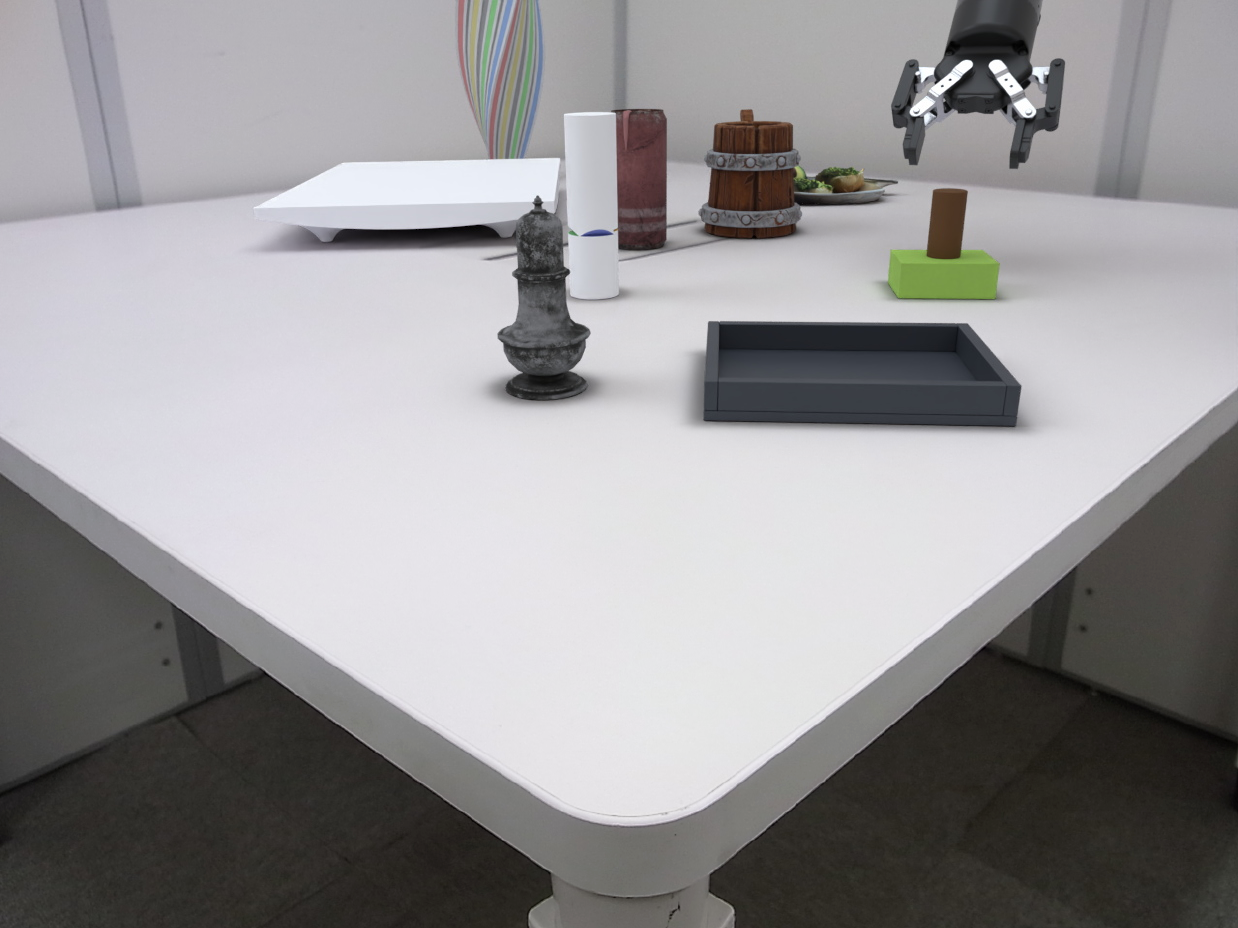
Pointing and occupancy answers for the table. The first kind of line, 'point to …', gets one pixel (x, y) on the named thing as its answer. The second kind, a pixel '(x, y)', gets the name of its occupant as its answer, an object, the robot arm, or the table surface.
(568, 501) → the table surface
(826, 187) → the salad plate
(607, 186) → the tube
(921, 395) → the tray
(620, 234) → the can
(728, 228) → the mug
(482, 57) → the vase
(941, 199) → the green block brown handle
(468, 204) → the board
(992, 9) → the robot arm
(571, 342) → the salt shaker
